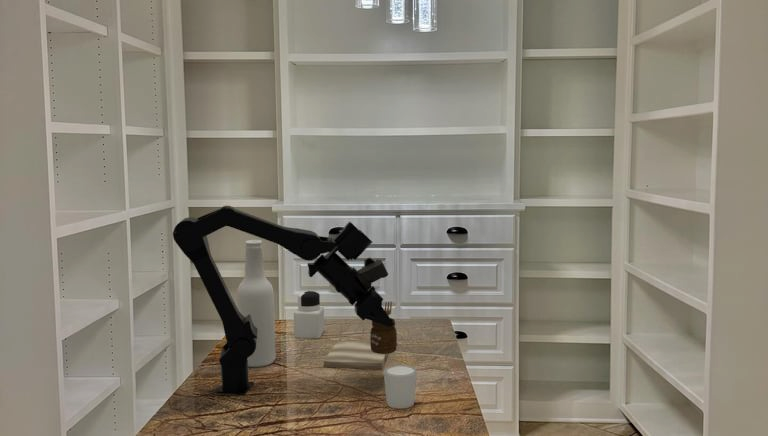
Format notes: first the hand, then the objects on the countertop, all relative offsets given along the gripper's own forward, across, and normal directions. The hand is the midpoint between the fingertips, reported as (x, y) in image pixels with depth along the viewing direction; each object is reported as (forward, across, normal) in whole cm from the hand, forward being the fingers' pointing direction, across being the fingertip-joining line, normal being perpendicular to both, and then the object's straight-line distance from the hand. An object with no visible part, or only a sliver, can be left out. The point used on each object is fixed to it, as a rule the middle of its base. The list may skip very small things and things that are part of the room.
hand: (389, 321), depth 151 cm
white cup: (+9, -15, +10) cm, 20 cm away
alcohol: (-11, +18, +31) cm, 37 cm away
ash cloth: (+6, +16, +13) cm, 21 cm away
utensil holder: (+4, 0, +6) cm, 7 cm away
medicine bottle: (-1, +38, +20) cm, 43 cm away
